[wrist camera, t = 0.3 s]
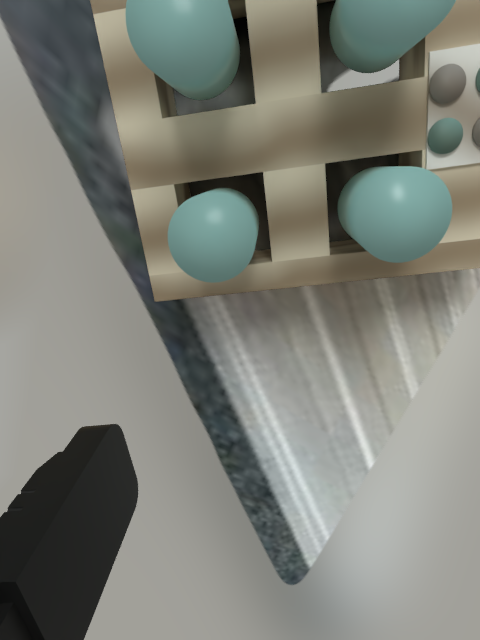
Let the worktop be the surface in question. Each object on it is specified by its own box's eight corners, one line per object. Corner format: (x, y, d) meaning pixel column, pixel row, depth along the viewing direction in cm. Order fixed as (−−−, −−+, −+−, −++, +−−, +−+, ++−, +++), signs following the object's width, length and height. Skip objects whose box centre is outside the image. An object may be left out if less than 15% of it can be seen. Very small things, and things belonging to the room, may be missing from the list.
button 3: (335, 172, 25) (353, 173, 20) (413, 161, 25) (454, 159, 19) (338, 246, 27) (356, 267, 22) (412, 238, 27) (449, 257, 21)
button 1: (183, 192, 27) (159, 199, 21) (254, 183, 26) (250, 187, 20) (195, 263, 28) (176, 286, 23) (262, 255, 28) (260, 277, 22)
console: (115, 5, 28) (80, -31, 23) (483, -67, 25) (537, -126, 20) (170, 283, 35) (153, 303, 29) (463, 251, 32) (499, 267, 27)
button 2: (152, 13, 23) (114, -36, 18) (234, -3, 23) (221, -58, 17) (168, 105, 25) (138, 87, 19) (244, 93, 24) (236, 71, 19)
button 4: (327, -20, 22) (345, -84, 16) (417, -37, 21) (468, -109, 16) (331, 79, 24) (349, 52, 18) (415, 65, 23) (461, 33, 18)
